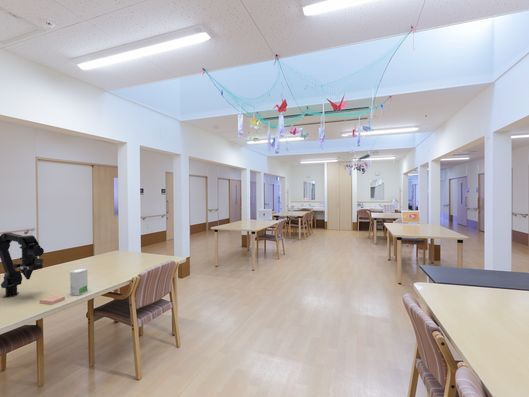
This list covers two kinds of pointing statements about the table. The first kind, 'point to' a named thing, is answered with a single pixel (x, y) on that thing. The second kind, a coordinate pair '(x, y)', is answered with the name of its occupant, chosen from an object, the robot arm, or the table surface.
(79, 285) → the skincare box
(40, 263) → the robot arm
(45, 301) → the pink flat block
